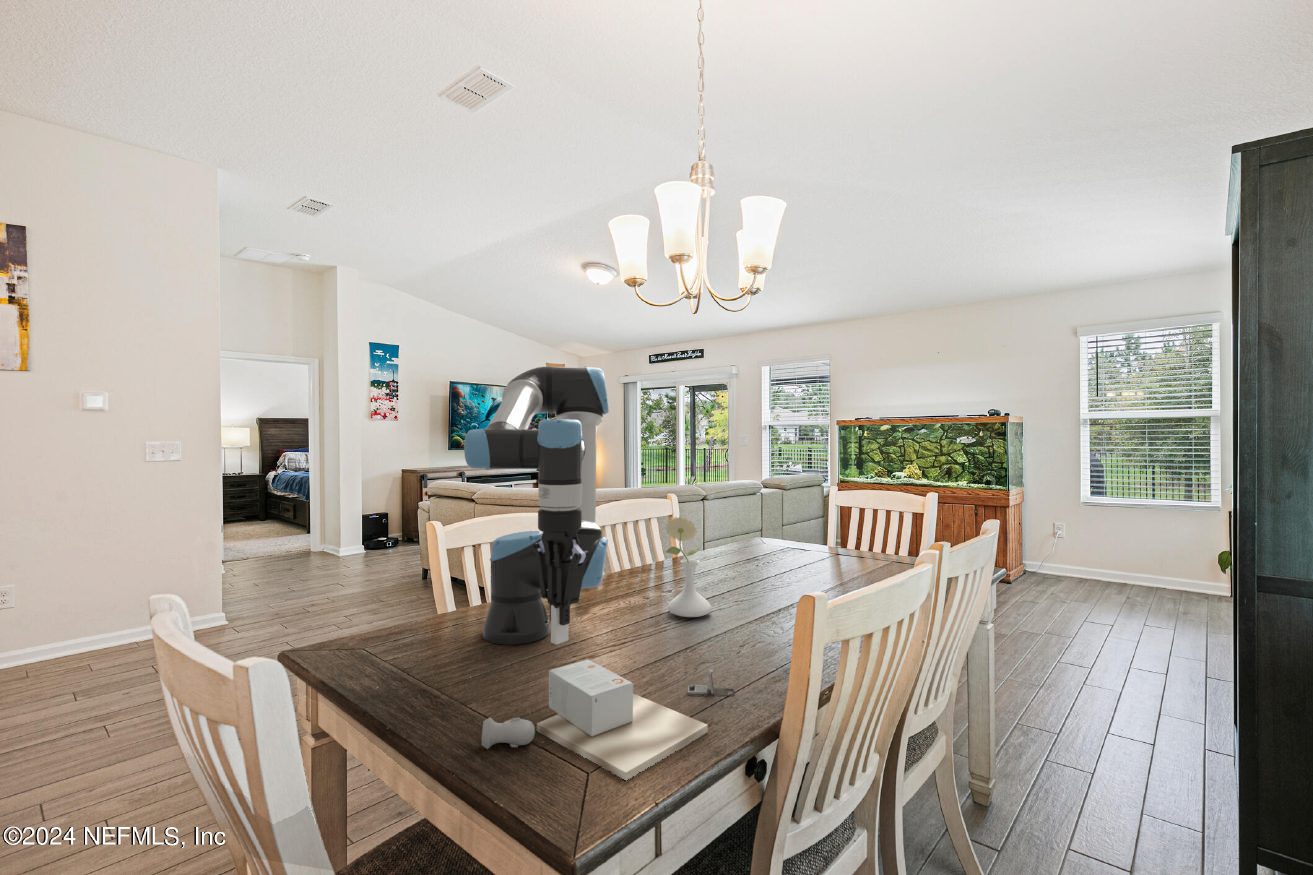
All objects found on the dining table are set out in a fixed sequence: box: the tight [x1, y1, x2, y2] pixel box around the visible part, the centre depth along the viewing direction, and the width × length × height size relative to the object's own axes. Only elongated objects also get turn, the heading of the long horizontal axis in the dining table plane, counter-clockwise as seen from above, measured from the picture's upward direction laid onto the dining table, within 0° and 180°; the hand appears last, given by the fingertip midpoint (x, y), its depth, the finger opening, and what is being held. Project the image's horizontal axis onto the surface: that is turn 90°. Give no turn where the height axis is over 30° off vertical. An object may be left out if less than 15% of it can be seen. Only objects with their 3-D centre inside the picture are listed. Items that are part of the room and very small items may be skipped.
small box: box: [548, 659, 634, 737], centre depth 97 cm, size 8×6×13 cm
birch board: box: [536, 693, 709, 781], centre depth 94 cm, size 20×18×1 cm
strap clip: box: [687, 668, 736, 697], centre depth 109 cm, size 8×3×4 cm, turn 86°
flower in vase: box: [665, 516, 713, 618], centre depth 155 cm, size 13×11×25 cm
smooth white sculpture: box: [481, 717, 536, 750], centre depth 91 cm, size 4×8×5 cm
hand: (559, 641), depth 105 cm, fingers closed
